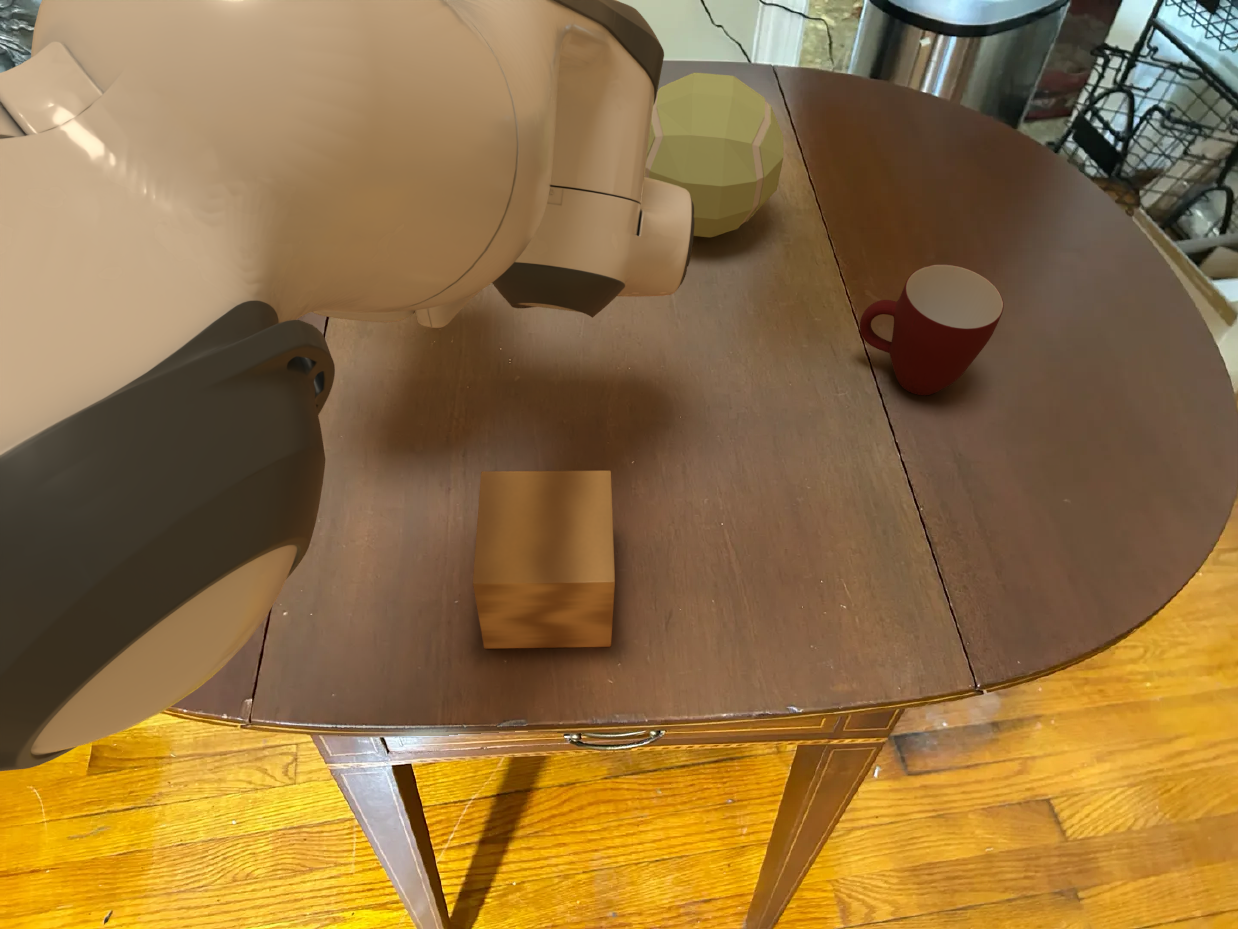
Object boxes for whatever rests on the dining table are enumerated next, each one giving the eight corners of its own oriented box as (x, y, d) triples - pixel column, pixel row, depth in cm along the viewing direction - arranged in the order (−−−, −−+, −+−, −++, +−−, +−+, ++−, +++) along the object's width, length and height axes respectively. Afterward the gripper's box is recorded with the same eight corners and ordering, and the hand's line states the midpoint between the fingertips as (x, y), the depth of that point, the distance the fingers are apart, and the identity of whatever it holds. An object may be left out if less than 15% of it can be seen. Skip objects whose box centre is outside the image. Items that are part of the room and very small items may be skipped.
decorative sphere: (618, 257, 92) (624, 120, 80) (633, 171, 101) (640, 37, 89) (767, 271, 91) (795, 136, 79) (768, 183, 100) (793, 51, 88)
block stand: (484, 649, 64) (472, 583, 57) (490, 542, 70) (480, 471, 63) (611, 647, 65) (614, 582, 58) (607, 541, 70) (610, 470, 63)
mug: (842, 396, 81) (870, 312, 73) (850, 335, 86) (878, 250, 78) (962, 421, 79) (1004, 338, 72) (964, 358, 84) (1004, 273, 76)
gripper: (495, 99, 69) (319, 79, 70) (422, 272, 56) (207, 245, 57) (501, 172, 74) (335, 153, 75) (434, 346, 61) (236, 320, 62)
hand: (279, 194), depth 66 cm, fingers open, 8 cm apart
